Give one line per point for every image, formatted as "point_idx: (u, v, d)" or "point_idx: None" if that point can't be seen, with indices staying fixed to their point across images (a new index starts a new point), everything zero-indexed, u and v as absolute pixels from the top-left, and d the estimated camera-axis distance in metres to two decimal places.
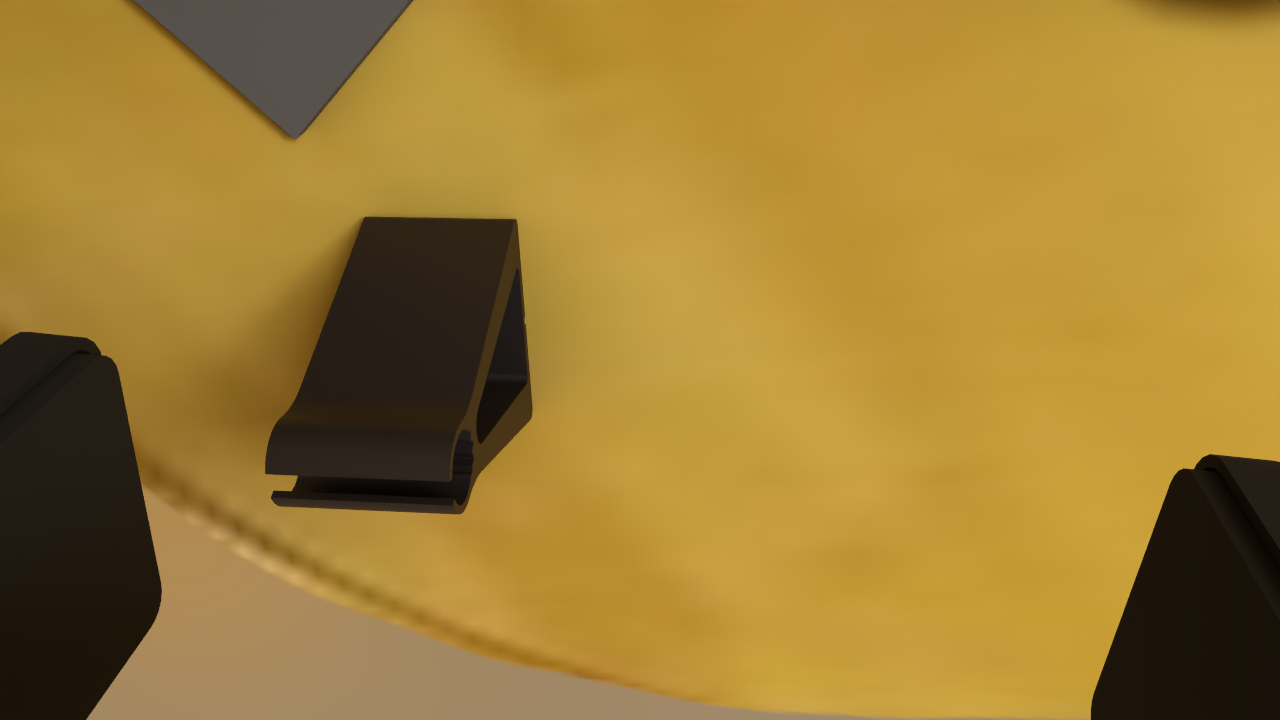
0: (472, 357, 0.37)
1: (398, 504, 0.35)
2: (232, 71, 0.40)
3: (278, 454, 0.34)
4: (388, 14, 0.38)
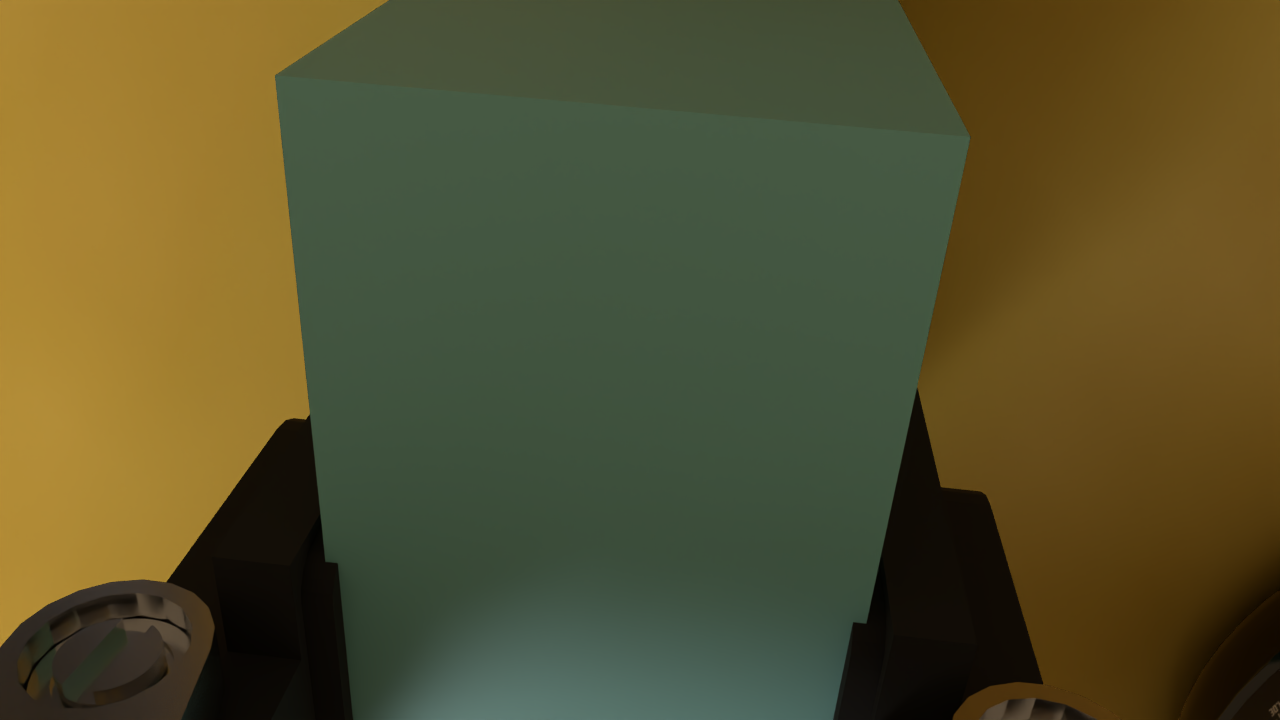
0: None
1: None
2: None
3: None
4: None
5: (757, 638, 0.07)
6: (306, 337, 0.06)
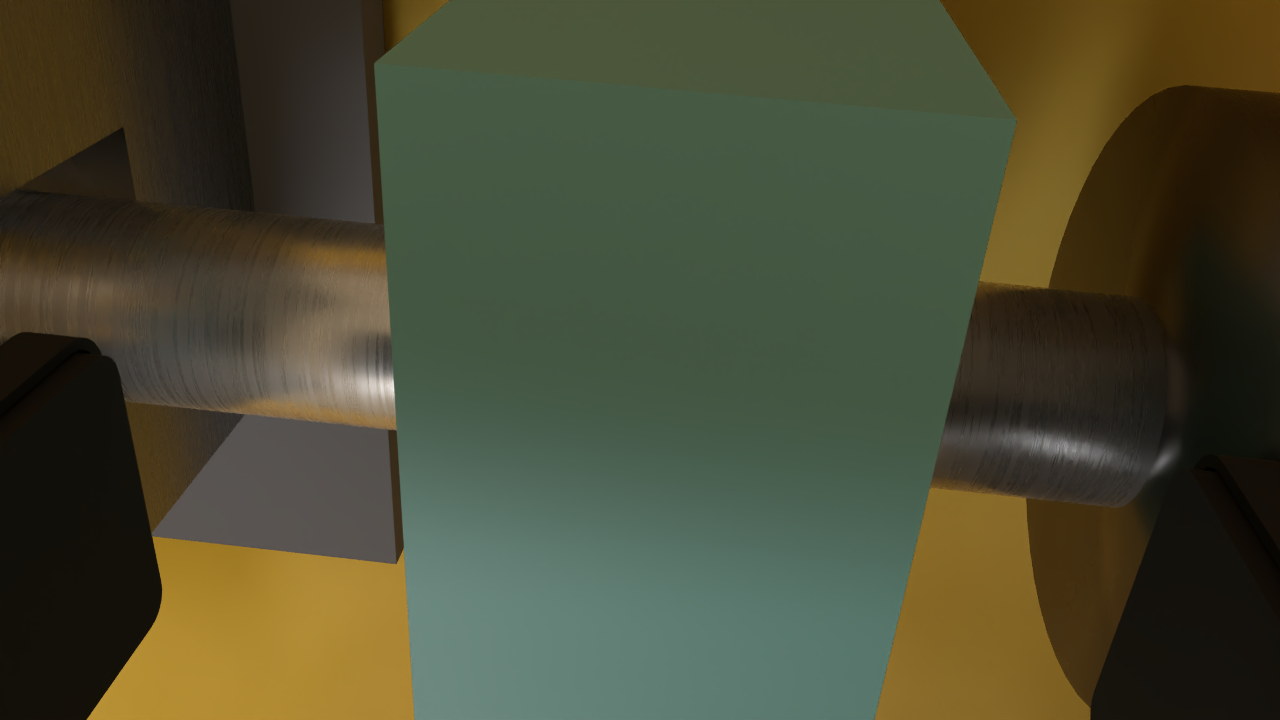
0: None
1: None
2: None
3: None
4: None
5: (807, 589, 0.08)
6: (392, 307, 0.07)
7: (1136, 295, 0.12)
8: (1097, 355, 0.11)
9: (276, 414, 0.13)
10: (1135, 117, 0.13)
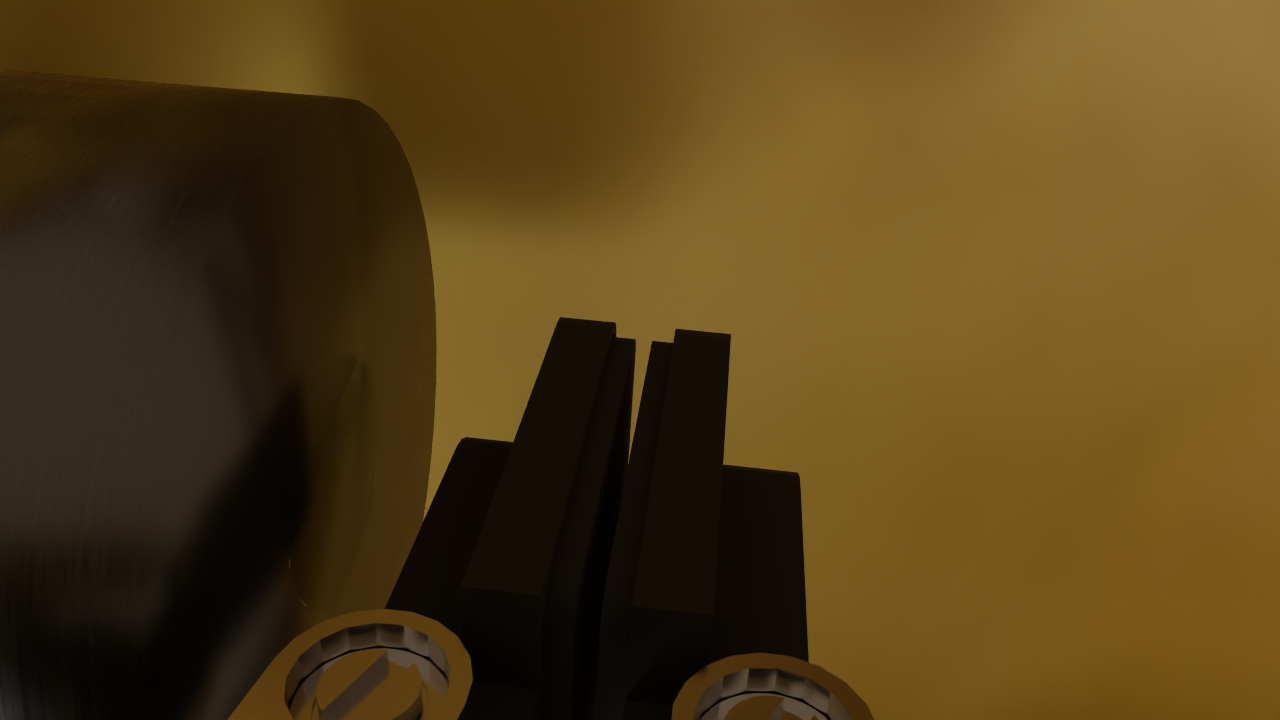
0: None
1: None
2: None
3: None
4: None
5: None
6: None
7: None
8: None
9: None
10: None
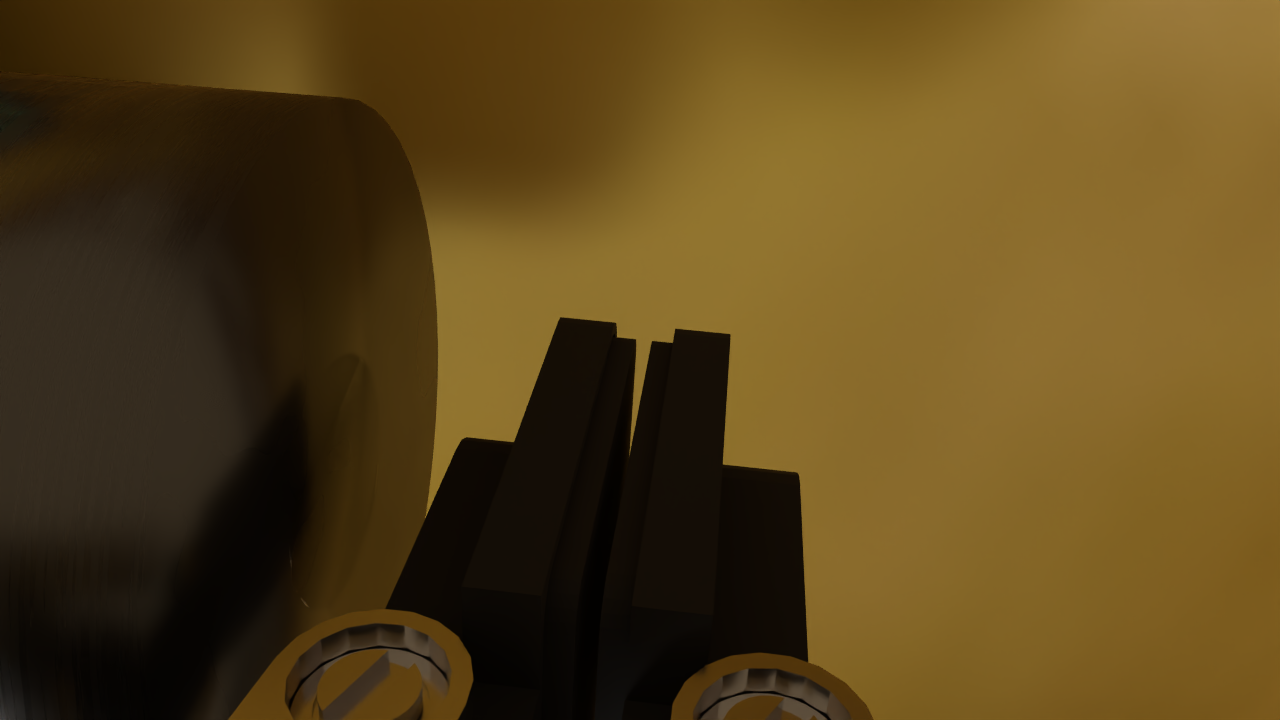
0: None
1: None
2: None
3: None
4: None
5: None
6: None
7: None
8: None
9: None
10: None
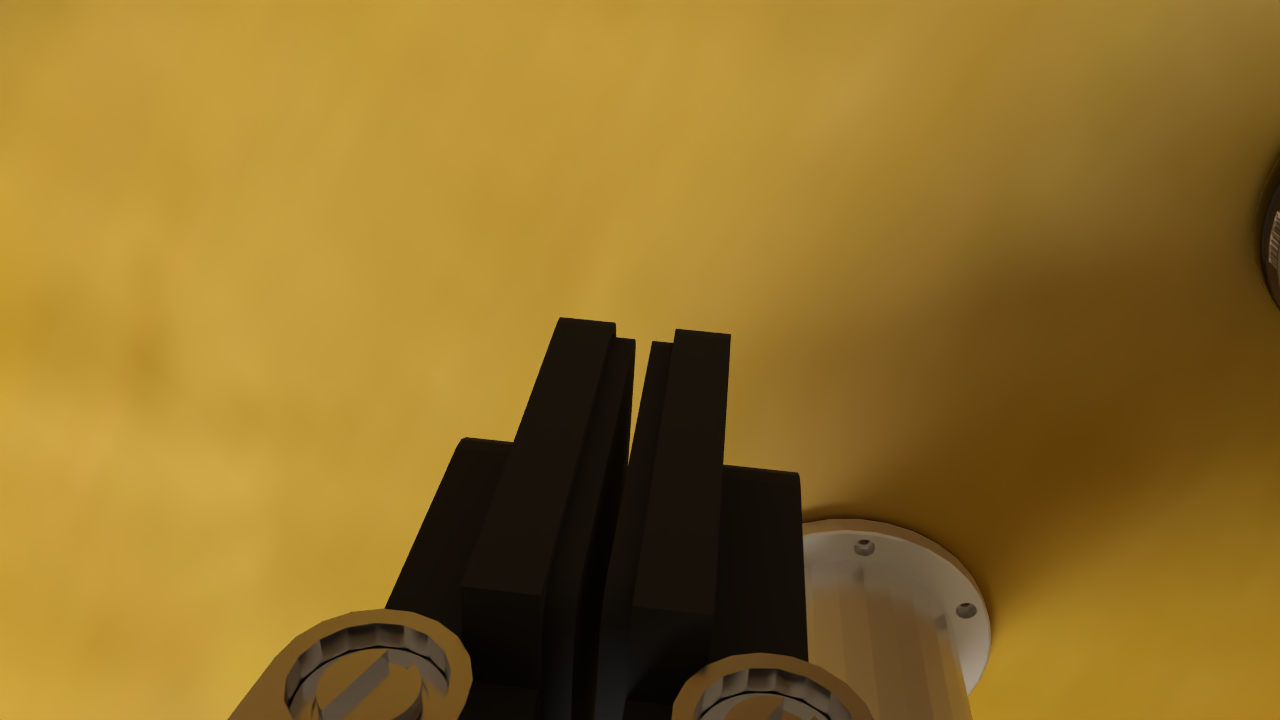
0: None
1: None
2: None
3: None
4: None
5: None
6: None
7: None
8: None
9: None
10: None
